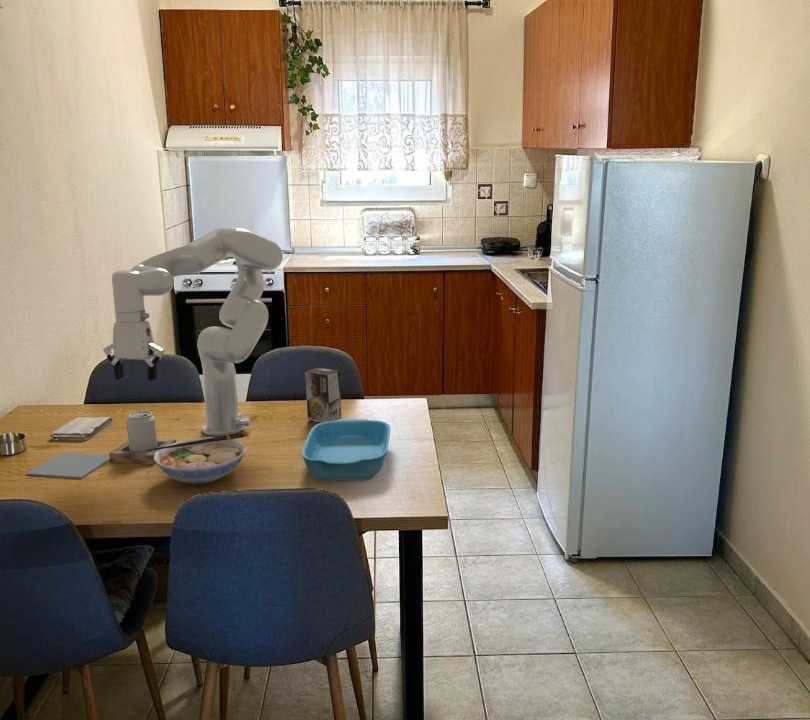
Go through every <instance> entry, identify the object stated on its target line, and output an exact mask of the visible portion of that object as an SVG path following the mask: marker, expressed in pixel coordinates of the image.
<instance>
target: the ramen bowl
mask: <svg viewBox="0 0 810 720" xmlns="http://www.w3.org/2000/svg"><path fill="white" fill-rule="evenodd" d="M241 438H245V434H244V433H243V432H238V433H234V434H230V435H221V436H215V437H214V436H212V437H211V436H210V437H209V436H207V437H193V438H189V439H188V438H187V439H183V440H180V441H176V442H175V443H173V444H170V445H167V446H164V447H160V448H154V449H149V450H146V451H152V450H158V451H157V452H156V453H155V456H154V460H155V462H156V463H155V465H157V466H158V467H159V469H161V471H163V472H164V473H165V474H166V475H168V476H169V477H170V479H173V480H176V481H178V482H181V483H182V482H183V483H189V484H193V485H203V484H209V483H212V482H214V481H216V480H220V479H221V478H223V477H226V476H228V475H229V474H230V473H232V472H233V471H234V470H235V469H236V468H237V467H238V465H239V464H240V462H241V461H242V459H244V458H243V457H244V456H245V453H246V445H245V444H244V443H242V442H241V441H239V440H236V439H241ZM159 449H160V450H159Z"/></svg>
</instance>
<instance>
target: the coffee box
mask: <svg viewBox="0 0 810 720" xmlns="http://www.w3.org/2000/svg"><path fill="white" fill-rule="evenodd" d="M340 373H341V371H340V370H338V369H330V368H326V367H315V368H312V369H309V370H307V371H304V374H305V375H304V377H305V378H304V379H305V380H304V381H305V392H306V396H305V397H306V411H307V421H308V422H310V421H314V422H313V423H315V422H320V423H322V422H328V421H336V420H340V419H343V417H342V402H341V401H342V400H341V398H342V397H341V394H342V393H341V374H340Z"/></svg>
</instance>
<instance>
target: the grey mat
mask: <svg viewBox="0 0 810 720" xmlns="http://www.w3.org/2000/svg"><path fill="white" fill-rule="evenodd" d="M109 462H110V456H109V454H98V453H81V452H67V451H66V452H65V451H64V452H61V453H59V454H58V455H56V456H54V457H52V458H51V459H49V460H47V461H45V462H44V463H42V464H40V465H39V466H37V467H34V468H33V469H31V470H29V471H28V472H26V476H34V477H35V476H36V477H48V478H49V477H50V478H51V477H52V478H63V479H64V478H65V479H80V480H81V479H82V480H83V479H84V478H85V477H87V476H89V475H90V474H92V473H94V472H95V471H96V470H98V469H100V468H101V467H102V466H105V464H107V463H109Z"/></svg>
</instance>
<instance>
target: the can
mask: <svg viewBox="0 0 810 720" xmlns="http://www.w3.org/2000/svg"><path fill="white" fill-rule="evenodd" d="M156 425H157V424H156V418H155V416H154V415H153V412H151V411H149V410H139V411H138V410H137V411H134V412H131V413H129V414H128V418H127V420H126V431H127V439H128V440H127V441H128V442H129V451H131V452H148V453H150V452H152V451H153V450H152V451H146V450H149V449H154V448H158V445H157V439H158V437H157V435H158V434H157V427H156Z"/></svg>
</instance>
